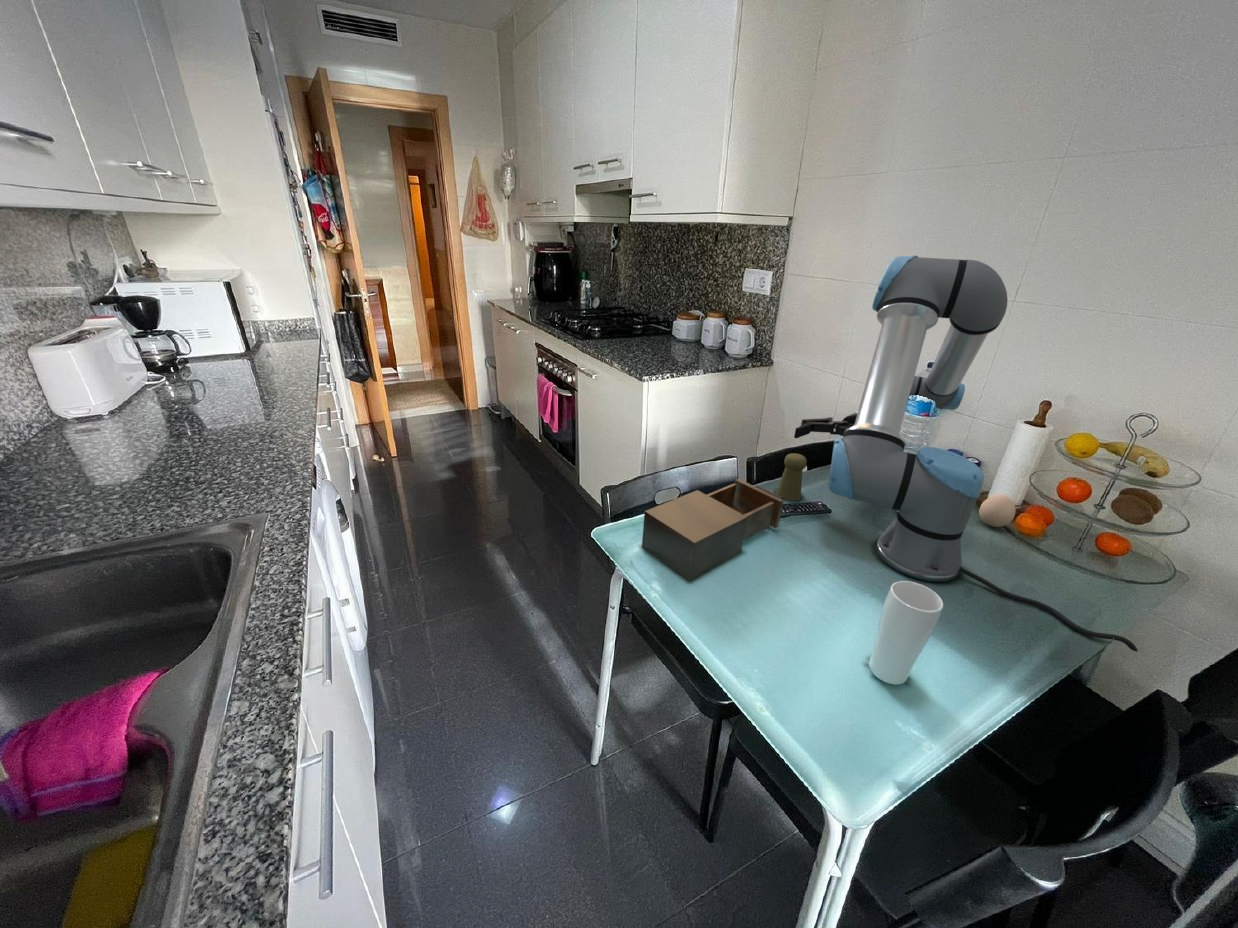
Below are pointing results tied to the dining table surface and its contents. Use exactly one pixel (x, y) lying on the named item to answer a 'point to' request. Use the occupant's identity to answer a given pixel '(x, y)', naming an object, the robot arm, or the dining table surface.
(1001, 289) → the robot arm
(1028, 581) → the dining table surface
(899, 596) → the drinking glass
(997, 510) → the egg
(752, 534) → the drawer
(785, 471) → the olive pawn figure
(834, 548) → the dining table surface
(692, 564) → the cabinet
